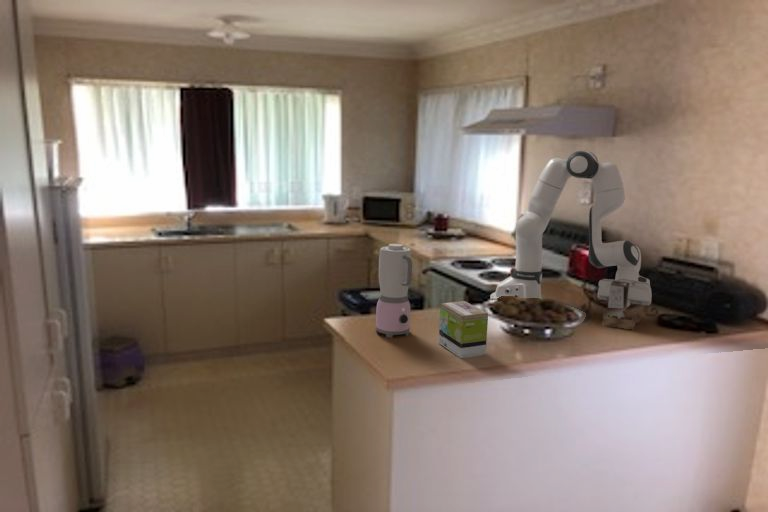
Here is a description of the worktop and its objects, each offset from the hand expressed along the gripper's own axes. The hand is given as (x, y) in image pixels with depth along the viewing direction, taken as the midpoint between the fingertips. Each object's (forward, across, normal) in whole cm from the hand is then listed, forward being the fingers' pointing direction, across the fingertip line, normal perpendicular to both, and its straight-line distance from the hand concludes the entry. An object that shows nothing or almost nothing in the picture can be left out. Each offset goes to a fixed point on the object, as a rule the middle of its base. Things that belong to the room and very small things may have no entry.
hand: (622, 310), depth 235 cm
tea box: (+48, -45, -43) cm, 79 cm away
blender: (+46, -71, -41) cm, 94 cm away
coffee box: (+7, -2, 0) cm, 7 cm away
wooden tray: (+6, 0, 0) cm, 6 cm away
